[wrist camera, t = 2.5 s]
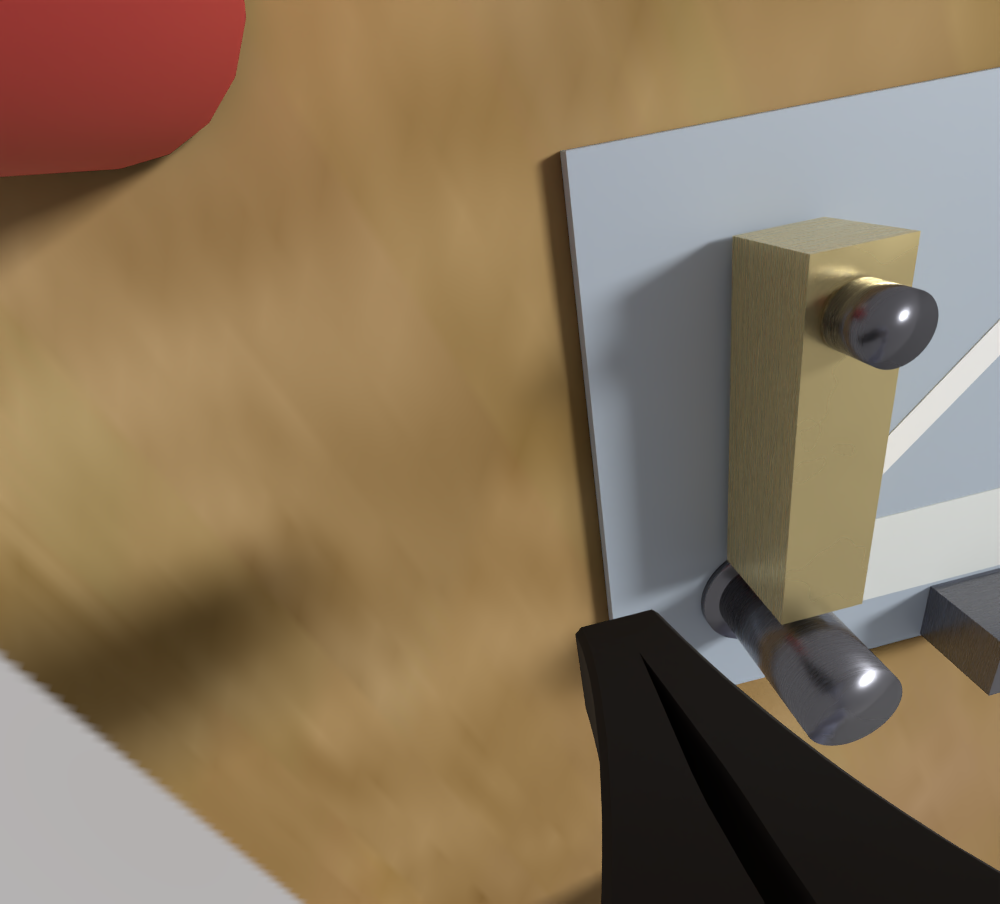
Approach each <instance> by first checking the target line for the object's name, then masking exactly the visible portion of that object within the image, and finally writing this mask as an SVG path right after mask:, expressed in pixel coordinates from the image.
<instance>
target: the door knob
mask: <svg viewBox="0 0 1000 904" xmlns="http://www.w3.org/2000/svg"><path fill="white" fill-rule="evenodd" d="M701 609H702V613H703V615H704V617H705V619H706V621H707V622H708V624H709V625H710V626H711V628H712V629H713V630H714V631H715V632H717V633H718V634H720V635H722V636H725V637H728V638H733V639H738V640H739V641H740V643H741V644H742V645H743V647H744V648H745V649H746V651H747V652H748V654H749V655H750V656H751V658H752V659H753V660H754V662H755V663H756V665H757V666H758V667H759V669H760V670H761V671H762V673H763V674H764V676H765V677H766V678H767V680H768V681H769V682H770V684H771V685H772V687H773V688H774V689H775V691H776V692H777V693H778V695H779V696H780V698H781V699H782V700H783V702H784V703H785V704H786V706H787V707H788V709H789V710H790V711H791V713H792V714H793V715H794V717H795V718H796V720H797V721H798V722H799V724H800V725H801V726H802V728H803V729H804V731H805V732H806V733H807V735H808V736H809V737H810V739H812V740H813V741H814V742H816V743H819V744H822V745H830V746H833V745H842V744H846V743H850V742H853V741H856V740H858V739H861V738H863V737H865V736H867V735H868V734H870V733H872V732H873V731H875V730H876V729H878V728H879V727H880V726H881V725H883V724H884V723H885V722H886V721H887V720H888V719H889V718H890V717H891V716H892V714H893V713H894V712H895V710H896V709H897V707H898V705H899V703H900V700H901V697H902V686H901V683H900V681H899V680H898V679H897V677H896V676H895V675H894V674H893V673H892V672H891V671H890V670H889V669H888V668H887V667H886V666H885V665H884V664H883V663H882V662H881V661H880V660H879V659H878V658H877V657H876V656H875V655H874V654H873V653H872V652H871V651H870V650H869V649H868V648H867V647H866V646H865V645H864V644H863V643H862V642H861V641H860V639H859V638H858V637H857V636H856V635H855V634H854V633H853V632H852V631H851V630H850V629H849V628H848V627H847V626H846V625H845V624H844V623H843V622H842V621H841V620H840V619H839V618H838V617H837V616H836V615H835V614H834V613H833V612H829V613H825V614H821V615H817V616H814V617H810V618H806V619H802V620H798V621H794V622H791V623H787V624H783V625H782V624H781V623H780V622H779V621H778V620H777V619H776V617H775V616H774V615H773V614H772V613H771V611H770V610H769V609H768V608H767V607H766V605H765V604H764V603H763V602H762V601H761V600H760V598H759V597H758V596H757V595H756V594H755V592H754V591H753V590H752V589H751V588H750V586H749V585H748V584H747V583H746V582H745V581H744V579H743V578H742V577H741V576H740V575H739V573H738V572H737V571H736V570H735V569H734V567H733V566H732V565H731V564H730V563H729V562H728V560H726V561H725V562H724V563H723V564H721V565H720V566H719V567H718V568H717V569H716V570H715V572H714V573H713V574H712V575H711V577H710V578H709V580H708V581H707V583H706V585H705V587H704V590H703V593H702V598H701Z"/></svg>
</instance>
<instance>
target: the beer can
mask: <svg viewBox="0 0 1000 904" xmlns="http://www.w3.org/2000/svg"><path fill="white" fill-rule="evenodd" d="M245 20H246V13H245V4H244V0H0V177H5V176H20V175H35V174H50V173H65V172H80V171H96V170H111V169H121V168H124V167H128V166H131V165H135V164H138V163H141V162H145V161H148V160H152V159H155V158H158V157H162V156H165V155H168V154H170V153H172V152H173V151H174V150H175V149H177V148H178V147H179V146H180V145H182V144H183V143H184V142H185V141H187V140H188V139H189V138H191V137H192V136H193V135H194V134H196V133H197V132H198V131H199V130H201V129H202V128H203V127H204V126H206V125H207V124H208V123H209V122H210V120H211V118H212V117H213V115H214V113H215V111H216V110H217V108H218V106H219V104H220V103H221V101H222V99H223V97H224V96H225V94H226V92H227V90H228V89H229V87H230V85H231V83H232V82H233V80H234V78H235V76H236V70H237V64H238V59H239V53H240V48H241V42H242V37H243V31H244V26H245Z"/></svg>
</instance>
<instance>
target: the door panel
mask: <svg viewBox="0 0 1000 904" xmlns="http://www.w3.org/2000/svg"><path fill="white" fill-rule="evenodd" d="M560 156H561V165H562V175H563V184H564V194H565V203H566V213H567V222H568V232H569V241H570V251H571V260H572V270H573V279H574V289H575V298H576V308H577V317H578V327H579V336H580V346H581V355H582V365H583V374H584V384H585V393H586V403H587V412H588V422H589V431H590V441H591V450H592V460H593V469H594V479H595V488H596V498H597V507H598V517H599V526H600V536H601V545H602V555H603V564H604V574H605V583H606V593H607V602H608V612H609V620H612V619H616V618H620V617H624V616H628V615H632V614H636V613H640V612H643V611H647V610H651V609H652V610H654V611H656V612H657V613H659V614H660V615H661V616H662V617H663V618H664V619H665V620H666V621H667V622H668V623H669V624H670V625H671V626H672V627H673V628H674V629H675V630H676V631H677V632H678V633H679V634H680V635H681V636H682V637H683V638H684V639H685V640H686V641H687V642H688V643H689V644H691V645H692V646H693V647H694V648H695V649H696V650H697V651H698V652H699V653H700V654H701V655H702V656H703V657H705V658H706V659H707V660H708V661H709V662H710V663H711V664H712V665H713V666H714V667H716V668H717V669H718V670H719V671H720V672H721V673H722V674H723V675H725V676H726V677H727V678H728V679H729V680H730V681H731V682H733V683H734V684H735V685H737V684H741V683H744V682H748V681H752V680H755V679H759V678H763V677H765V676H764V674H763V673H762V671H761V670H760V669H759V667H758V666H757V665H756V663H755V662H754V660H753V659H752V658H751V656H750V655H749V654H748V652H747V651H746V649H745V648H744V647H743V645H742V644H741V643H740V641H739V640H738V639H733V638H728V637H725V636H722V635H720V634H718V633H717V632H715V631H714V630H713V629H712V628H711V626H710V625H709V624H708V622H707V621H706V619H705V617H704V615H703V613H702V609H701V598H702V593H703V590H704V587H705V585H706V583H707V581H708V580H709V578H710V577H711V575H712V574H713V573H714V572H715V570H716V569H717V568H718V567H719V566H720V565H721V564H723V563H724V562H725V561H726V560H727V533H728V475H729V417H730V358H731V300H732V242H733V236H734V235H739V234H744V233H748V232H753V231H758V230H763V229H768V228H772V227H777V226H782V225H787V224H792V223H797V222H801V221H806V220H811V219H816V218H821V217H830V218H837V219H844V220H850V221H857V222H864V223H871V224H878V225H884V226H891V227H898V228H905V229H911V230H918V231H921V233H920V239H919V246H918V252H917V259H916V265H915V271H914V278H913V284H912V287H913V288H917V289H921V290H924V291H926V292H928V293H929V294H930V295H932V297H933V298H934V299H935V301H936V303H937V306H938V312H939V317H938V324H937V328H936V330H935V333H934V335H933V337H932V339H931V341H930V343H929V344H928V345H927V347H926V348H925V349H924V350H923V352H922V353H921V354H920V355H919V356H917V357H916V358H915V359H914V360H912V361H911V362H909V363H908V364H906V365H904V366H902V367H899V373H898V379H897V386H896V392H895V398H894V405H893V411H892V417H891V424H890V430H889V437H888V443H887V449H886V456H885V462H884V468H883V475H882V481H881V487H880V494H879V500H878V506H877V513H876V519H875V526H874V532H873V538H872V545H871V551H870V557H869V564H868V570H867V576H866V583H865V589H864V595H863V602H862V604H859V605H856V606H852V607H848V608H844V609H840V610H836V611H833V613H834V614H835V615H836V616H837V617H838V618H839V619H840V620H841V621H842V622H843V623H844V624H845V625H846V626H847V627H848V628H849V629H850V630H851V631H852V632H853V633H854V634H855V635H856V636H857V637H858V638H859V639H860V641H861V642H862V643H863V644H864V645H865V646H866V647H867V648H868V649H871V648H875V647H878V646H882V645H886V644H890V643H893V642H897V641H901V640H904V639H908V638H912V637H916V636H919V635H921V634H920V630H921V626H922V621H923V617H924V613H925V608H926V604H927V599H928V595H929V590H930V586H932V585H936V584H940V583H944V582H948V581H951V580H955V579H959V578H963V577H967V576H971V575H974V574H978V573H982V572H986V571H990V570H993V569H997V568H1000V67H997V68H991V69H986V70H981V71H976V72H971V73H965V74H960V75H955V76H950V77H944V78H939V79H934V80H929V81H923V82H918V83H913V84H908V85H903V86H897V87H892V88H887V89H882V90H876V91H871V92H866V93H861V94H855V95H850V96H845V97H840V98H835V99H829V100H824V101H819V102H814V103H808V104H803V105H798V106H793V107H787V108H782V109H777V110H772V111H767V112H761V113H756V114H751V115H746V116H740V117H735V118H730V119H725V120H719V121H714V122H709V123H704V124H699V125H693V126H688V127H683V128H678V129H672V130H667V131H662V132H657V133H652V134H646V135H641V136H636V137H631V138H625V139H620V140H615V141H610V142H604V143H599V144H594V145H589V146H584V147H578V148H573V149H568V150H563V151H560Z"/></svg>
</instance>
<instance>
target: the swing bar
mask: <svg viewBox="0 0 1000 904" xmlns="http://www.w3.org/2000/svg"><path fill="white" fill-rule="evenodd" d="M920 233H921V231H918V230H911V229H905V228H898V227H891V226H884V225H878V224H871V223H864V222H857V221H850V220H844V219H837V218H830V217H821V218H816V219H811V220H806V221H801V222H797V223H792V224H787V225H782V226H777V227H772V228H768V229H763V230H758V231H753V232H748V233H744V234H739V235H734V236H733V242H732V300H731V358H730V417H729V475H728V533H727V560H728V562H729V563H730V564H731V565H732V566H733V567H734V569H735V570H736V571H737V572H738V573H739V575H740V576H741V577H742V578H743V579H744V581H745V582H746V583H747V584H748V585H749V586H750V588H751V589H752V590H753V591H754V592H755V594H756V595H757V596H758V597H759V598H760V600H761V601H762V602H763V603H764V604H765V605H766V607H767V608H768V609H769V610H770V611H771V613H772V614H773V615H774V616H775V617H776V619H777V620H778V621H779V622H780V623H781V624H782V625H783V624H787V623H791V622H794V621H798V620H802V619H806V618H810V617H814V616H817V615H821V614H825V613H829V612H833V611H836V610H840V609H844V608H848V607H852V606H856V605H859V604H862V602H863V595H864V589H865V583H866V576H867V570H868V564H869V557H870V551H871V545H872V538H873V532H874V526H875V519H876V513H877V506H878V500H879V494H880V487H881V481H882V475H883V468H884V462H885V456H886V449H887V443H888V437H889V430H890V424H891V417H892V411H893V405H894V398H895V392H896V386H897V379H898V373H899V367H902V366H904V365H906V364H908V363H909V362H911V361H912V360H914V359H915V358H916V357H917V356H919V355H920V354H921V353H922V352H923V350H924V349H925V348H926V347H927V345H928V344H929V343H930V341H931V339H932V337H933V335H934V333H935V330H936V328H937V324H938V317H939V312H938V306H937V303H936V301H935V299H934V298H933V297H932V295H930V294H929V293H928V292H926V291H924V290H921V289H917V288H913V287H912V284H913V278H914V271H915V265H916V259H917V252H918V246H919V239H920Z"/></svg>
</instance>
